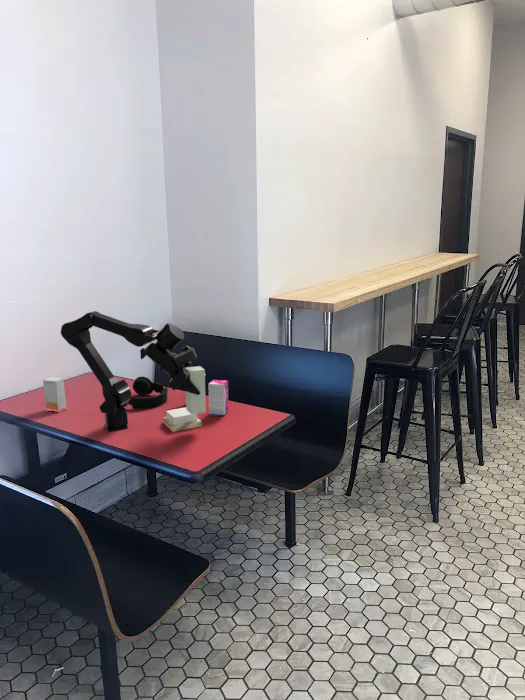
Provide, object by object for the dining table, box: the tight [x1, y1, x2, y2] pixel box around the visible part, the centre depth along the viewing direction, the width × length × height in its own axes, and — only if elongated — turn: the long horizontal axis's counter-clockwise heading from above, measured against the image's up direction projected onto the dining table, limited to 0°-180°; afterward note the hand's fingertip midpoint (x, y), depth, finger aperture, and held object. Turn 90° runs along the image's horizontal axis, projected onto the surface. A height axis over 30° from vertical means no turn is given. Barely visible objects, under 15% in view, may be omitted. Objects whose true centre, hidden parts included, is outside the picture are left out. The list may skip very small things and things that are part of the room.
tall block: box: [185, 365, 207, 414], centre depth 187 cm, size 5×5×14 cm
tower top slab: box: [165, 406, 199, 425], centre depth 194 cm, size 8×8×2 cm
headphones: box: [126, 376, 169, 410], centre depth 221 cm, size 18×8×20 cm
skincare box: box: [42, 376, 67, 410], centre depth 212 cm, size 6×4×12 cm
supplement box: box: [208, 379, 229, 417], centre depth 204 cm, size 6×6×12 cm
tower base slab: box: [162, 416, 203, 433], centre depth 195 cm, size 10×10×2 cm
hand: (200, 390), depth 187 cm, fingers closed on tall block, 6 cm apart
